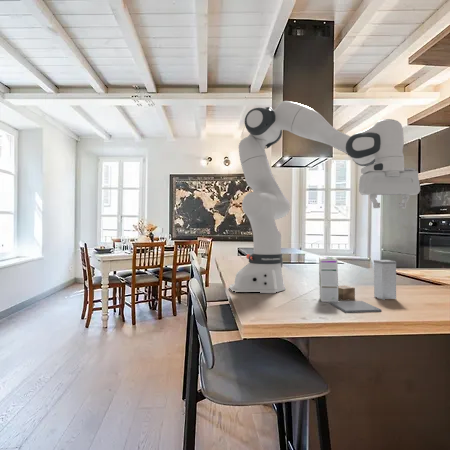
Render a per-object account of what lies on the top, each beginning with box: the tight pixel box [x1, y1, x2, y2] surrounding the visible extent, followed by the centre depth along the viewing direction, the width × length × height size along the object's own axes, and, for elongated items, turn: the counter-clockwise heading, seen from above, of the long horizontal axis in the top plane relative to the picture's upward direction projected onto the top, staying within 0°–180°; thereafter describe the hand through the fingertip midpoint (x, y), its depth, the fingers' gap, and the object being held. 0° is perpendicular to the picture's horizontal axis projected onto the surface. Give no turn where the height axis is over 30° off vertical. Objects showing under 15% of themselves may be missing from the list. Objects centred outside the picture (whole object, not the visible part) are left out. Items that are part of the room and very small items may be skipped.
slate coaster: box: [329, 300, 382, 314], centre depth 100 cm, size 11×11×1 cm
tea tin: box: [373, 259, 397, 301], centre depth 113 cm, size 5×5×13 cm
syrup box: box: [318, 256, 339, 303], centre depth 110 cm, size 6×6×14 cm
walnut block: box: [338, 284, 356, 301], centre depth 114 cm, size 5×5×4 cm
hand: (389, 208), depth 110 cm, fingers open, 8 cm apart
